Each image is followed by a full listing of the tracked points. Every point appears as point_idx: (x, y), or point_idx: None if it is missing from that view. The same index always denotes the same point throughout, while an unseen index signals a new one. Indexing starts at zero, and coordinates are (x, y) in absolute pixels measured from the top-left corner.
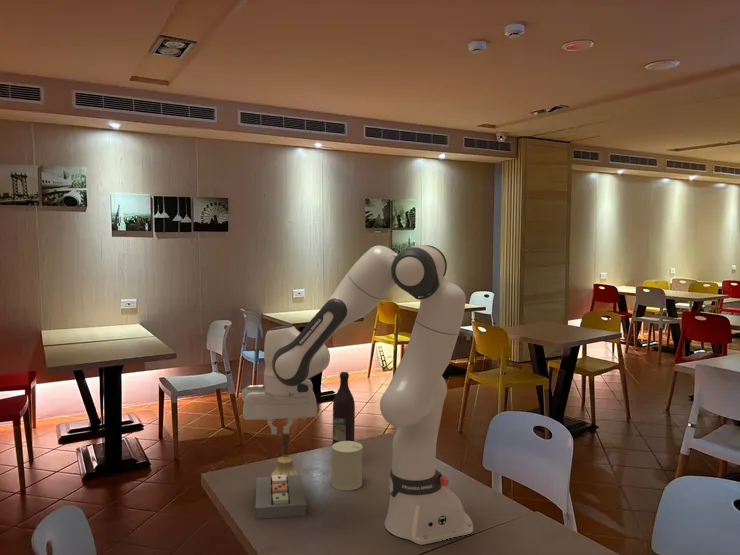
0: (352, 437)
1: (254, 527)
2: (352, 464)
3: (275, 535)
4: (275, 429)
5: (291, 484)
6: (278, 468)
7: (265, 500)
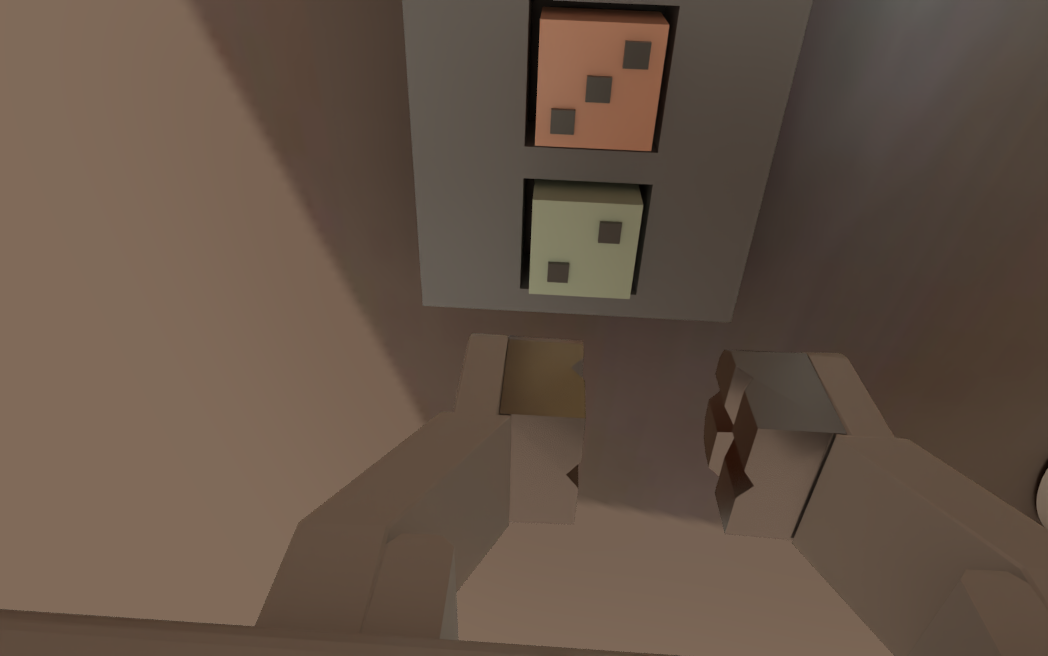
0: None
1: (434, 341)
2: None
3: None
4: (543, 505)
5: None
6: None
7: (482, 224)
